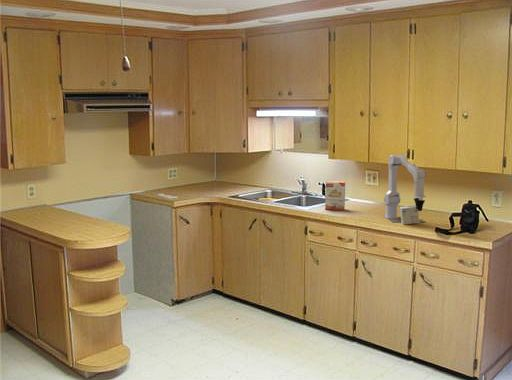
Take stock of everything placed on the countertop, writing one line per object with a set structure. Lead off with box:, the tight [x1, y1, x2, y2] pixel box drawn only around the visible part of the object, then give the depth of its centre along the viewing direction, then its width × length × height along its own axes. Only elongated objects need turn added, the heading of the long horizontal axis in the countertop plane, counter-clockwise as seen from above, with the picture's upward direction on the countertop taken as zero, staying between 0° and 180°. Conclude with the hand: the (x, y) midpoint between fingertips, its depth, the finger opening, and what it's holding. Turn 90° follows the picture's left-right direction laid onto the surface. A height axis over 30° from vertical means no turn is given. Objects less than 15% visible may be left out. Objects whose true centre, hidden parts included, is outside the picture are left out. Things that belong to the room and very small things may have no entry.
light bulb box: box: [399, 204, 420, 225], centre depth 360 cm, size 11×7×11 cm, turn 88°
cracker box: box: [324, 180, 346, 211], centre depth 408 cm, size 14×6×21 cm, turn 76°
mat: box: [389, 218, 426, 223], centre depth 369 cm, size 8×22×1 cm, turn 89°
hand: (419, 210), depth 351 cm, fingers open, 7 cm apart
